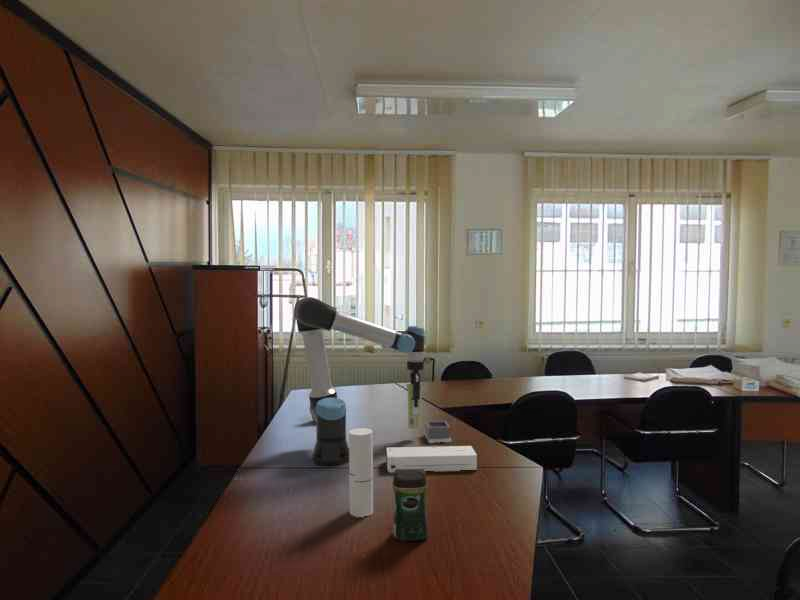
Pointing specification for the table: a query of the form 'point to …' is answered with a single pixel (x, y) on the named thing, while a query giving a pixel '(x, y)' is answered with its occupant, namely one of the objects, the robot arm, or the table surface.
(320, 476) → the table surface
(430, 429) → the grey and white box
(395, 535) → the coffee jar
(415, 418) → the tube
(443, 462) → the laminator
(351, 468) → the cylindrical container
